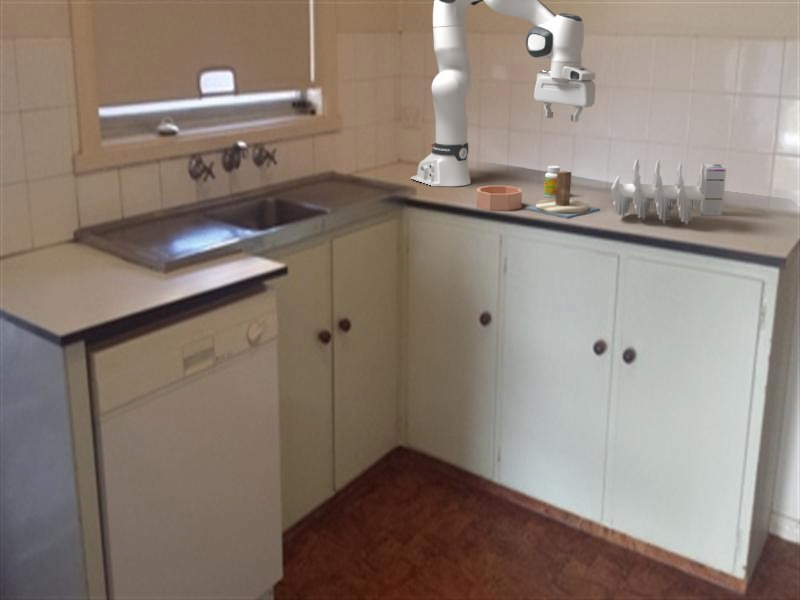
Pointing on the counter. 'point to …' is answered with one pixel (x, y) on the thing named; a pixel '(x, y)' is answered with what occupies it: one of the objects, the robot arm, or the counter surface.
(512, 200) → the bowl
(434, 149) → the robot arm
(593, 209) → the mat
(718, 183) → the syrup box
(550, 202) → the lid
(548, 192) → the supplement bottle
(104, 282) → the counter surface
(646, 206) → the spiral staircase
